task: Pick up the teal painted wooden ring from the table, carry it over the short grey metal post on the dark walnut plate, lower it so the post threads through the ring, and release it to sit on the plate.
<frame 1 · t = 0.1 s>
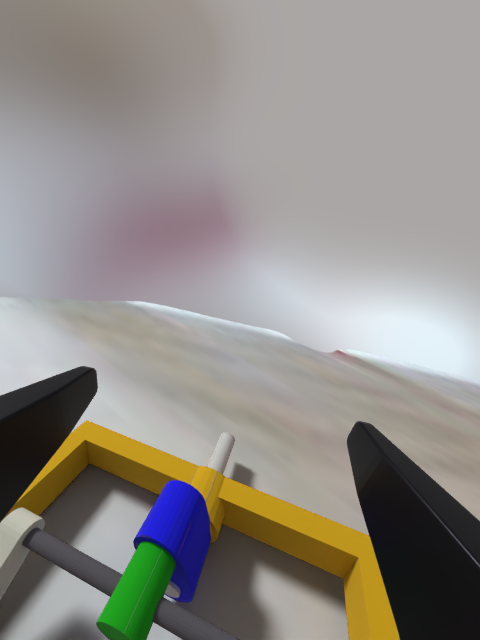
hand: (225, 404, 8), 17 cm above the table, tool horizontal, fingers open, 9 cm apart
yellow jointed frame: (200, 581, 15), on the table, touching post stand
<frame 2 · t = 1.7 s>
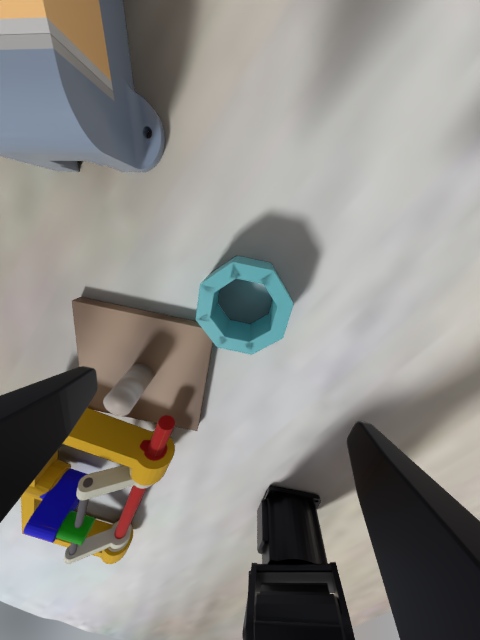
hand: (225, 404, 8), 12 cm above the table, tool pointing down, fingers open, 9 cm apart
post stand: (146, 367, 22), on the table
ring: (245, 298, 18), on the table
yellow jointed frame: (86, 462, 28), on the table, touching post stand
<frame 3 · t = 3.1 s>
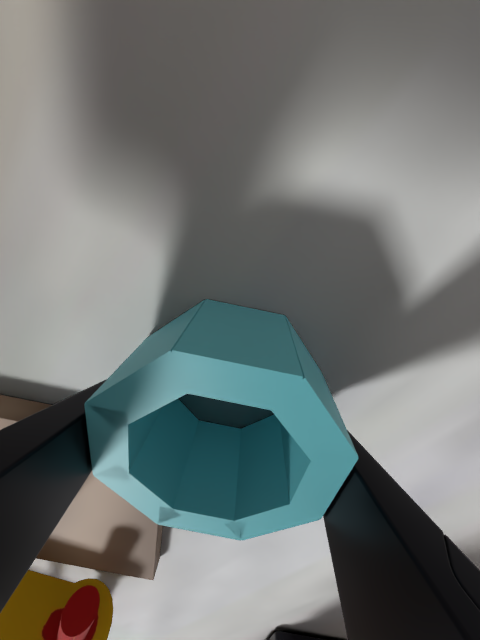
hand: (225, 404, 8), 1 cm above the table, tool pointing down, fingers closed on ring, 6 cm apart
post stand: (55, 484, 12), on the table
ring: (228, 383, 9), on the table, touching gripper
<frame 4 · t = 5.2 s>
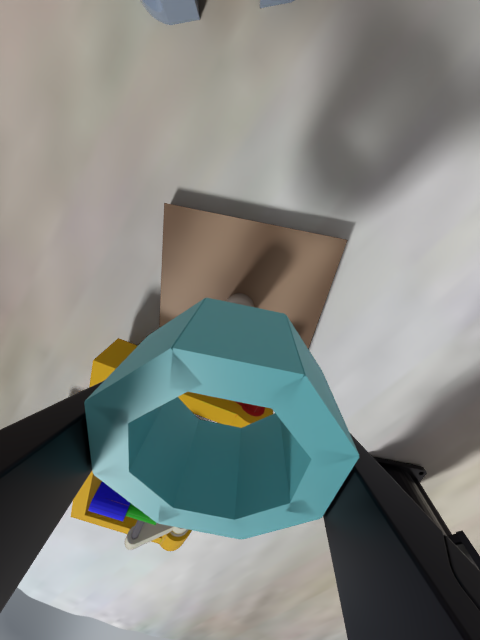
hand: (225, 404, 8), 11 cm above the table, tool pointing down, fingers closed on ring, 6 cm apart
post stand: (240, 303, 18), on the table
ring: (229, 382, 9), point 10 cm above the table, touching gripper
yellow jointed frame: (148, 431, 24), on the table, touching post stand
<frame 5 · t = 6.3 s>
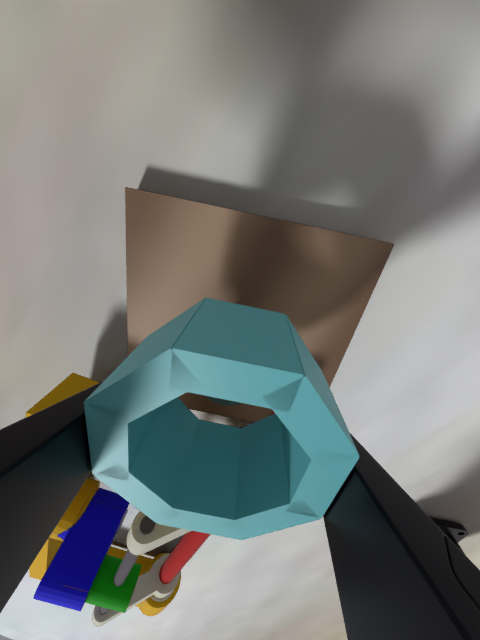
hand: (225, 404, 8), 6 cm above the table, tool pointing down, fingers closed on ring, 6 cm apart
post stand: (237, 327, 13), on the table
ring: (229, 382, 9), point 5 cm above the table, touching gripper
yellow jointed frame: (122, 478, 19), on the table, touching post stand
when the fingers open (4 cm above the table, at t = 7.4 s): ring drops 2 cm, resting on post stand.
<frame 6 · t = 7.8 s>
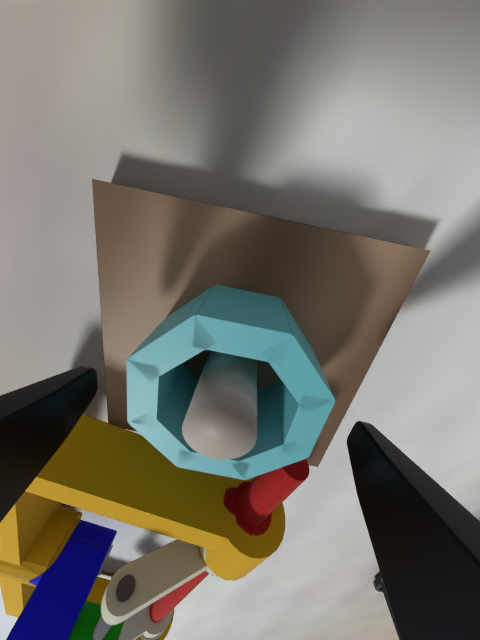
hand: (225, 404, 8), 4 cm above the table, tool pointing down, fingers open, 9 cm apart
post stand: (234, 347, 11), on the table
ring: (233, 357, 10), point 1 cm above the table, touching post stand
yellow jointed frame: (107, 509, 17), on the table, touching post stand
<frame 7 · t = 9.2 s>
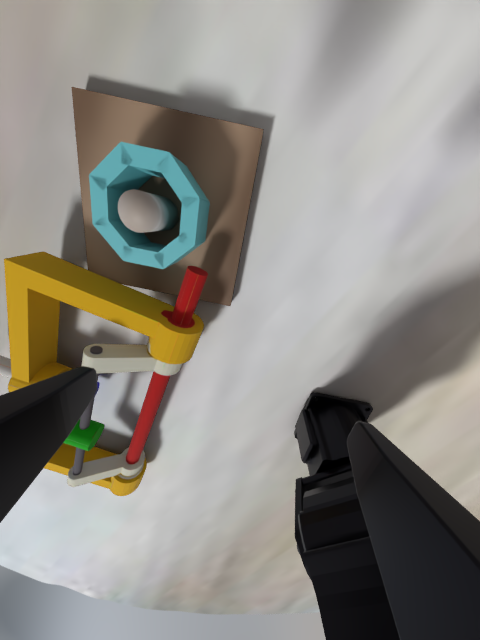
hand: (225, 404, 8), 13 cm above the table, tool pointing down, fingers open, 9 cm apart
post stand: (168, 214, 17), on the table
ring: (164, 213, 16), point 1 cm above the table, touching post stand
yellow jointed frame: (91, 367, 23), on the table, touching post stand
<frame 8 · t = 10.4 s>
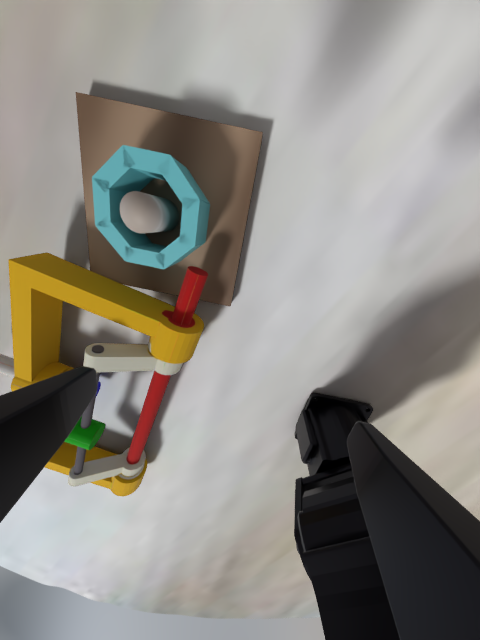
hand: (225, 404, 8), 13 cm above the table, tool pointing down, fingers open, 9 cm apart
post stand: (169, 215, 17), on the table
ring: (165, 214, 17), point 1 cm above the table, touching post stand
yellow jointed frame: (93, 367, 23), on the table, touching post stand
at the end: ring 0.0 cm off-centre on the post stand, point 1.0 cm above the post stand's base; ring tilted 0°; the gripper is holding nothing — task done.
